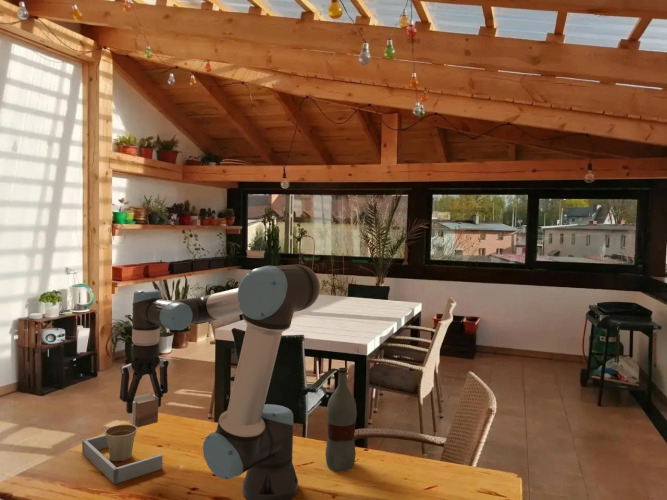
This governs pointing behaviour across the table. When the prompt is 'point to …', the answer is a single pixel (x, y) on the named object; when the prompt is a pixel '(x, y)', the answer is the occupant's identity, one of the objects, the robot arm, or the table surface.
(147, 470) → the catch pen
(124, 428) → the flower pot
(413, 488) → the table surface
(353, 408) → the bottle
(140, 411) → the walnut block
